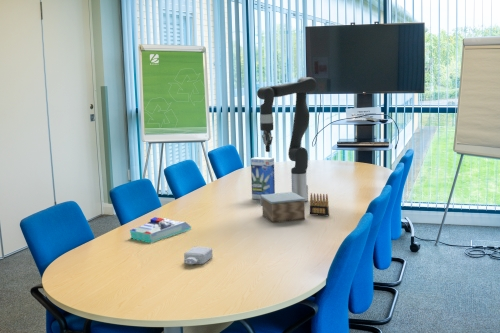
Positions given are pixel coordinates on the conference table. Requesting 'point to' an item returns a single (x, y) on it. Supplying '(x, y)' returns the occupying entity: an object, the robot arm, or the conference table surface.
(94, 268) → the conference table surface
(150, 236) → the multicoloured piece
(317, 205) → the ammunition clip
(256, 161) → the string lights box
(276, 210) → the walnut box
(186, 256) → the charger
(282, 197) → the box lid
